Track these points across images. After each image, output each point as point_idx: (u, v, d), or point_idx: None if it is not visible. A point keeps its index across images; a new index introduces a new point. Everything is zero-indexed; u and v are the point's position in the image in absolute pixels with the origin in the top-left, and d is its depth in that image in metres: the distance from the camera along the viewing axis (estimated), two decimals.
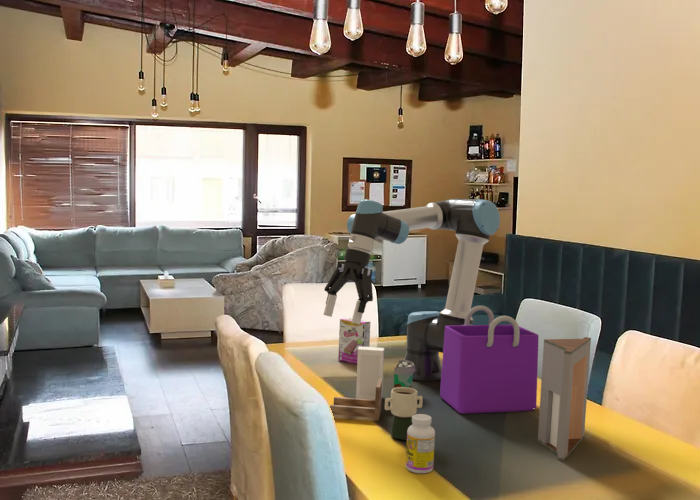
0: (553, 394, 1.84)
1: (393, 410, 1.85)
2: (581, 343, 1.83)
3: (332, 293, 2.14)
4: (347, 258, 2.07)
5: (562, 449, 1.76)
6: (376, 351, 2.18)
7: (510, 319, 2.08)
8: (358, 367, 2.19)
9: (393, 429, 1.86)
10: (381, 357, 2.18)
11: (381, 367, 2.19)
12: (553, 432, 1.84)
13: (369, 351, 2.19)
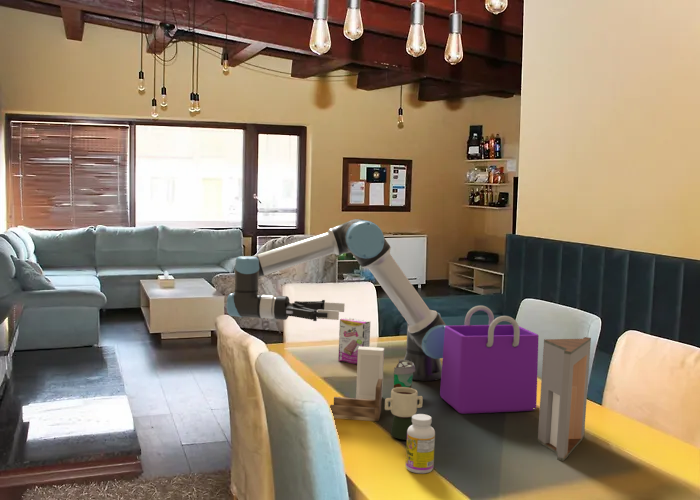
0: (553, 394, 1.84)
1: (393, 410, 1.85)
2: (581, 343, 1.83)
3: (323, 306, 2.28)
4: (285, 319, 2.23)
5: (562, 449, 1.76)
6: (376, 351, 2.18)
7: (510, 319, 2.08)
8: (358, 367, 2.19)
9: (393, 429, 1.86)
10: (381, 357, 2.18)
11: (381, 367, 2.19)
12: (553, 432, 1.84)
13: (369, 351, 2.19)
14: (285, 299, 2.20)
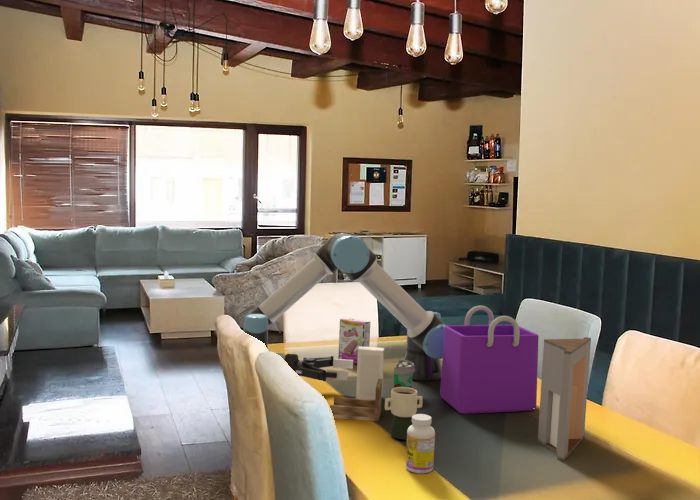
0: (553, 394, 1.84)
1: (393, 410, 1.85)
2: (581, 343, 1.83)
3: (332, 362, 2.30)
4: None
5: (562, 449, 1.76)
6: (376, 351, 2.18)
7: (510, 319, 2.08)
8: (358, 367, 2.19)
9: (393, 429, 1.86)
10: (381, 357, 2.18)
11: (381, 367, 2.19)
12: (553, 432, 1.84)
13: (369, 351, 2.19)
14: (294, 358, 2.22)
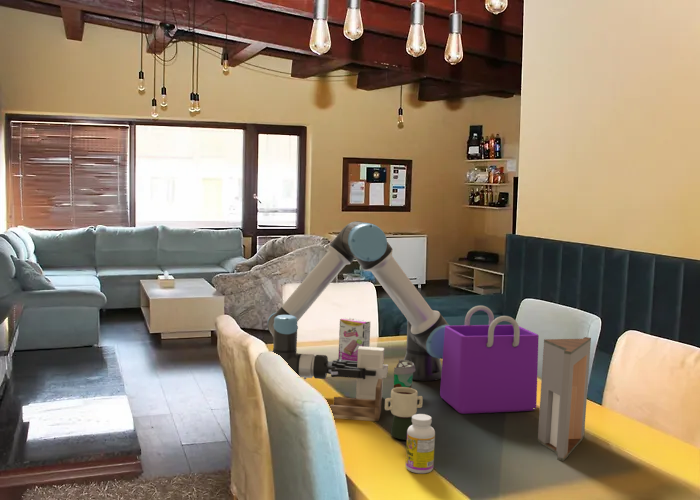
0: (553, 394, 1.84)
1: (393, 410, 1.85)
2: (581, 343, 1.83)
3: None
4: None
5: (562, 449, 1.76)
6: (376, 351, 2.18)
7: (510, 319, 2.08)
8: (358, 367, 2.19)
9: (393, 429, 1.86)
10: (381, 357, 2.18)
11: (381, 367, 2.19)
12: (553, 432, 1.84)
13: (369, 351, 2.19)
14: (324, 359, 2.21)
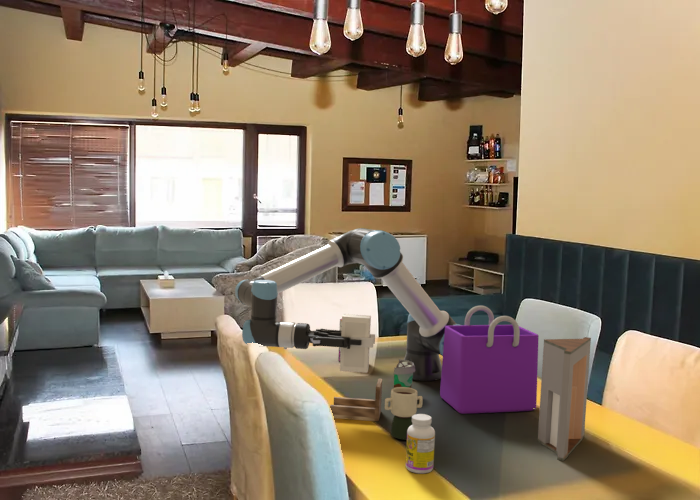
0: (553, 394, 1.84)
1: (393, 410, 1.85)
2: (581, 343, 1.83)
3: None
4: None
5: (562, 449, 1.76)
6: (362, 318, 2.01)
7: (510, 319, 2.08)
8: (342, 336, 2.02)
9: (393, 429, 1.86)
10: (367, 325, 2.01)
11: (367, 336, 2.01)
12: (553, 432, 1.84)
13: (354, 318, 2.01)
14: (306, 327, 2.03)
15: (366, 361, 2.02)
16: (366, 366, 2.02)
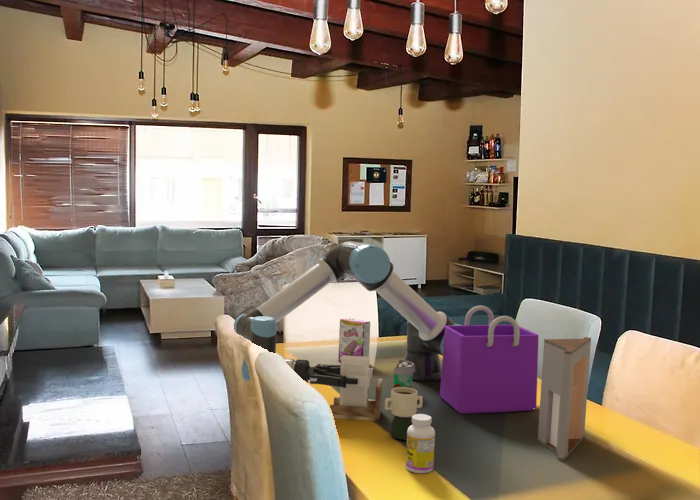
0: (553, 394, 1.84)
1: (393, 410, 1.85)
2: (581, 343, 1.83)
3: None
4: None
5: (562, 449, 1.76)
6: (361, 360, 2.02)
7: (510, 319, 2.08)
8: None
9: (393, 429, 1.86)
10: (366, 367, 2.02)
11: None
12: (553, 432, 1.84)
13: (353, 360, 2.02)
14: (305, 364, 2.04)
15: (365, 403, 2.03)
16: None
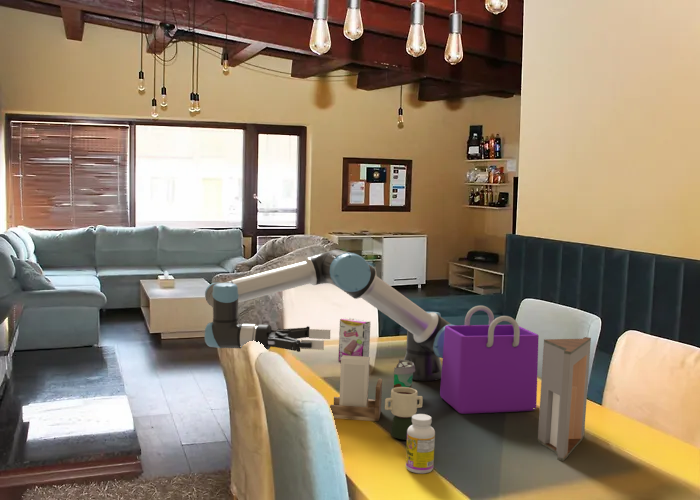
0: (553, 394, 1.84)
1: (393, 410, 1.85)
2: (581, 343, 1.83)
3: (307, 333, 2.15)
4: None
5: (562, 449, 1.76)
6: (361, 360, 2.02)
7: (510, 319, 2.08)
8: (341, 378, 2.03)
9: (393, 429, 1.86)
10: (366, 367, 2.02)
11: (366, 378, 2.02)
12: (553, 432, 1.84)
13: (353, 360, 2.02)
14: (267, 328, 2.07)
15: (365, 403, 2.03)
16: None
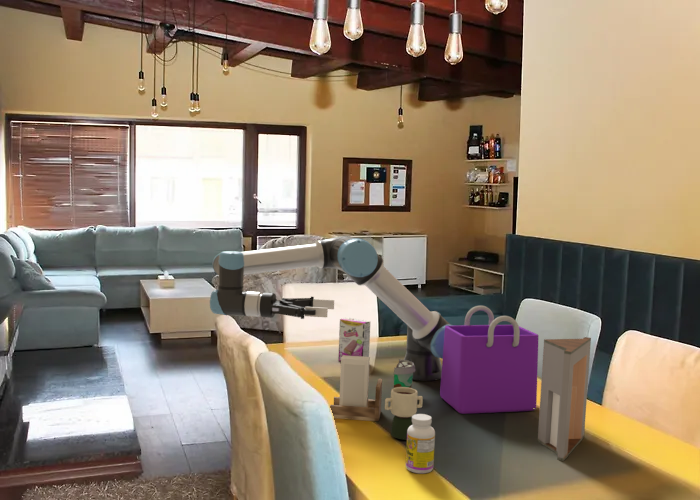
0: (553, 394, 1.84)
1: (393, 410, 1.85)
2: (581, 343, 1.83)
3: (311, 303, 2.18)
4: (271, 317, 2.12)
5: (562, 449, 1.76)
6: (361, 360, 2.02)
7: (510, 319, 2.08)
8: (341, 378, 2.03)
9: (393, 429, 1.86)
10: (366, 367, 2.02)
11: (366, 378, 2.02)
12: (553, 432, 1.84)
13: (353, 360, 2.02)
14: (271, 296, 2.10)
15: (365, 403, 2.03)
16: None
